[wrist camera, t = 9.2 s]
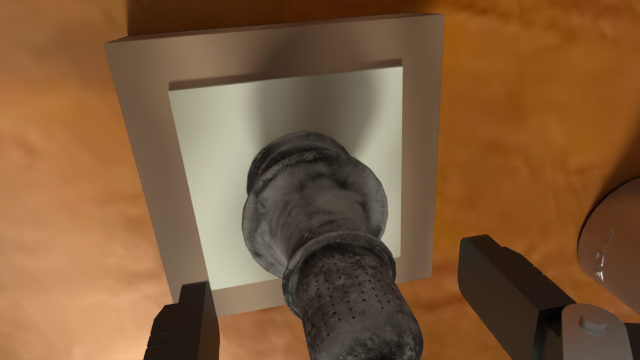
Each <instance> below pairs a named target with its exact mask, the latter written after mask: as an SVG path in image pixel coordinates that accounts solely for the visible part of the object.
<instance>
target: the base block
mask: <svg viewBox="0 0 640 360" xmlns="http://www.w3.org/2000/svg"><path fill="white" fill-rule="evenodd" d="M443 31H444V14H430V13H397V14H385V15H373V16H361V17H349V18H337V19H325V20H313V21H302V22H290V23H278V24H266V25H254V26H242V27H230V28H218V29H206V30H194V31H182V32H170V33H158V34H147V35H135V36H126V37H123V38H119V39H116V40H113V41H110V42H106V43H103V44H104V47H105V51H106V55H107V58H108V62H109V66H110V69H111V73H112V77H113V81H114V84H115V88H116V92H117V95H118V99H119V103H120V107H121V110H122V114H123V118H124V121H125V125H126V129H127V132H128V136H129V140H130V144H131V147H132V151H133V155H134V158H135V162H136V166H137V169H138V173H139V177H140V181H141V184H142V188H143V192H144V195H145V199H146V203H147V207H148V210H149V214H150V218H151V221H152V225H153V229H154V232H155V236H156V240H157V244H158V247H159V251H160V255H161V258H162V262H163V266H164V270H165V273H166V277H167V281H168V284H169V288H170V292H171V295H172V299H173V303H174V304H175V303H178V301H179V296H180V291H181V287H182V285H183V284H189V283H195V282H201V281H207V280H208V281H209V283H210V287H211V292H212V296H213V301H214V305H215V310H216V314H217V317H222V316H227V315H232V314H238V313H243V312H248V311H254V310H259V309H264V308H270V307H275V306H280V305H286V302H285V300H284V295H283V290H282V281H283V279H280V278H278V277H277V276H275V275H273V274H271V273H269V272H267V271H266V270H264V269H263V268H262V267H261V266H260V265H259V264H258V263H257V262H256V261H255V260H254V259H253V257H252V256H251V254H250V252H249V251H248V249H247V247H246V246H245V242H244V237H243V233H242V229H241V226H242V213H243V207H244V205H245V202H246V199H247V197H248V196H247V191H246V188H247V176H248V173H249V170H250V168H251V165H252V162H253V161H254V160H255V158H256V157H257V156H258V154H259V153H260V151H261V150H262V149H264V148H265V147H266V146H267V145H269V144H270V143H271V142H272V141H274V140H276V139H278V138H280V137H282V136H285V135H287V134H291V133H297V132H315V133H320V134H323V135H326V136H328V137H331V138H333V139H334V140H336V141H337V142H338V143H340V144H341V145H343V147H344V148H345V149H346V150H347V152H348V153H349V154H350V155H351V156H352V157H354V158H356V159H358V160H359V161H361V162H362V163H363V164H365V165H366V166H368V167H369V168H370V169H371V170H372V171H373V173H374V174H375V175H376V176H377V178H378V179H379V180H380V182H381V183H382V186H383V188H384V191H385V194H386V196H387V201H388V219H387V224H386V228H385V232H384V234H383V236H382V238H381V241H383V243H384V244H385V245H386V246H387V247H388V248H389V250H390V251H391V253H392V255H393V258H394V260H395V262H396V279H395V284H397V283H402V282H408V281H413V280H418V279H424V278H429V277H431V271H432V251H433V231H434V211H435V191H436V171H437V151H438V131H439V111H440V91H441V71H442V51H443Z"/></svg>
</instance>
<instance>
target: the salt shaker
mask: <svg viewBox="0 0 640 360" xmlns="http://www.w3.org/2000/svg"><path fill="white" fill-rule="evenodd" d="M246 191H247V196H248V197H247V199H246V202H245V205H244V207H243V213H242V226H241V229H242V233H243V237H244V242H245V246H246V247H247V249H248V251H249V252H250V254H251V256H252V257H253V259H254V260H255V261H256V262H257V263H258V264H259V265H260V266H261V267H262V268H263V269H264V270H266V271H267V272H269V273H271V274H273V275H275V276H277V277H278V278H280V279H283V281H282V290H283V295H284V300H285V302H286V304H287V305H288V307H289V309H290V310H291V311H292V312H293V313H294V314H295V315H296V316H297V317H298V318H300V319H301V320H302V324H303V328H304V333H305V337H306V342H307V346H308V351H309V355H310V360H421V356H422V353H423V337H422V333H421V330H420V327H419V325H418V322H417V320H416V318H415V317H414V315H413V313H412V311H411V310H410V308H409V306H408V305H407V303H406V301H405V299H404V298H403V296H402V294H401V293H400V291H399V289H398V287H397V286H396V284H395V279H396V262H395V260H394V258H393V255H392V253H391V251H390V250H389V248H388V247H387V246H386V245H385V244H384V243H383V241H381V238H382V236H383V234H384V232H385V228H386V224H387V219H388V201H387V196H386V194H385V191H384V188H383V186H382V183H381V182H380V180H379V179H378V178H377V176H376V175H375V174H374V173H373V171H372V170H371V169H370V168H369V167H368V166H366V165H365V164H363V163H362V162H361V161H359V160H358V159H356V158H354V157H352V156H351V155H350V154H349V153H348V152H347V150H346V149H345V148H344V147H343V145H341V144H340V143H338V142H337V141H336V140H334V139H333V138H331V137H328V136H326V135H323V134H320V133H315V132H297V133H291V134H287V135H285V136H282V137H280V138H278V139H276V140H274V141H272V142H271V143H270V144H269V145H267V146H266V147H265V148H264V149H262V150H261V151H260V153H259V154H258V156H257V157H256V158H255V160H254V161H253V162H252V165H251V168H250V170H249V173H248V176H247V188H246Z"/></svg>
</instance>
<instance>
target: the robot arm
mask: <svg viewBox="0 0 640 360" xmlns="http://www.w3.org/2000/svg"><path fill="white" fill-rule="evenodd" d="M578 257H579V263H580V265H581V267H582V269H583V271H584V272H585V273H586V274H587V275H588V276H589V277H590V278H592V279H593V280H594V281H595V282H597V283H598V284H599V285H601V286H602V287H603V288H605V289H606V290H607V291H609V292H610V293H611V294H613V295H614V296H615V297H616V298H618V299H619V300H620V301H622V302H623V303H624V304H626V305H627V306H628V307H630V308H631V309H632V310H633V311H634V312H636V313H637V314H638V315H640V178H637V179H634V180H631V181H630V182H628V183H626V184H624V185H622V186H621V187H619V188H618V189H616V190H615V191H614V192H612V193H611V194H610V195H608V196H607V197H606V198H605V199H604V200H603V201H602V202H601V203H600V204H599V205H598V207H597V208H596V209H595V211H594V212H593V213H592V215H591V216H590V217H589V219H588V221H587V223H586V225H585V227H584V229H583V231H582V234H581V237H580V240H579V247H578ZM458 285H459V288H460V291H461V293H462V295H463V297H464V298H465V299H466V301H467V302H468V303H469V305H470V306H471V307H472V308H473V310H474V311H475V312H476V314H477V315H478V316H479V317H480V319H481V320H482V321H483V323H484V324H485V325H486V326H487V328H488V329H489V330H490V332H491V333H492V334H493V335H494V337H495V338H496V339H497V341H498V342H499V343H500V344H501V346H502V347H503V348H504V350H505V351H506V352H507V353H508V355H509V356H510V357H511V359H512V360H640V324H638V323H623V322H622V321H621V320H620V319H619V318H618V317H617V316H616V315H614V314H613V313H611V312H609V311H607V310H605V309H603V308H601V307H598V306H595V305H591V304H583V303H576V302H575V301H574V300H573V299H572V298H571V297H569V296H568V295H567V294H566V293H565V292H564V291H563V290H561V289H560V288H559V287H558V286H557V285H556V284H555V283H553V282H552V281H551V280H550V279H549V278H548V277H547V276H545V275H543V274H542V272H541V271H540V270H539V269H537V268H536V267H533V264H532V263H531V262H529V261H528V260H527V259H526V258H525V257H524V256H523V255H521V254H519V253H517V252H515V251H513V250H511V249H509V248H507V247H501V246H500V245H499V244H497V243H496V242H495V241H494V240H493V239H492V238H491V237H490V236H489V235H486V234H484V235H478V236H472V237H466V238H463V239H462V240H461V242H460V252H459V266H458ZM150 334H151V336H150V337H149V340H148V344H147V349H146V352H145V355H144V359H143V360H219V346H220V334H219V324H218V319H217V314H216V310H215V305H214V301H213V296H212V292H211V287H210V283H209V281H208V280H207V281H201V282H195V283H189V284H183V285H182V287H181V291H180V296H179V301H178V303H175V304H169V305H165V306H164V307H163V309H162V310H161V311H160V312H159V314H158V315H157V316H156V317H155V319H154V322H153V325H152V329H151V333H150Z"/></svg>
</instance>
